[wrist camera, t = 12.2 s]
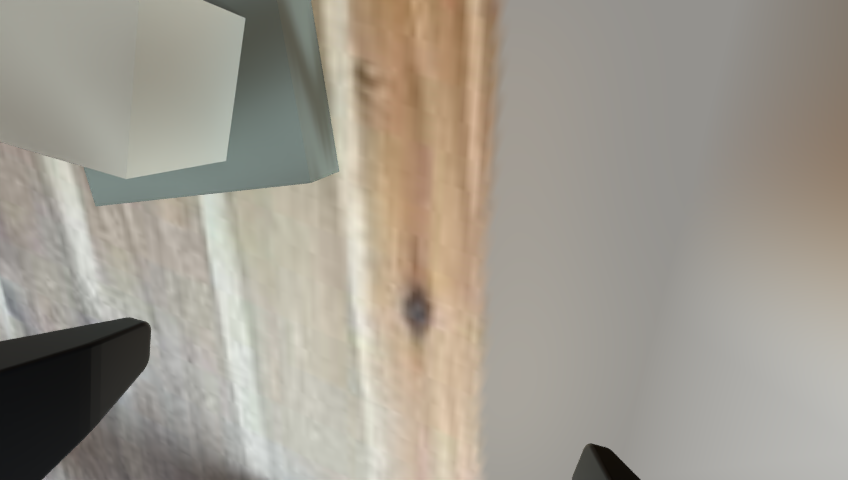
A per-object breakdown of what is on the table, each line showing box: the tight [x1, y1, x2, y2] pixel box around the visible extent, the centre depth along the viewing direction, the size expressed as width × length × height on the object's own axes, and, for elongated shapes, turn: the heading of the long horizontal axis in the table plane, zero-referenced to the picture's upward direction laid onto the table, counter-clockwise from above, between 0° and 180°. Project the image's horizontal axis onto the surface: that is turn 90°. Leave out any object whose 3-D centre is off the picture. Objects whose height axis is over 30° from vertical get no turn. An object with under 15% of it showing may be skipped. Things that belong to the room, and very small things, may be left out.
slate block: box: [84, 0, 339, 206], centre depth 18 cm, size 9×9×4 cm
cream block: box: [0, 0, 246, 179], centre depth 14 cm, size 5×5×5 cm
